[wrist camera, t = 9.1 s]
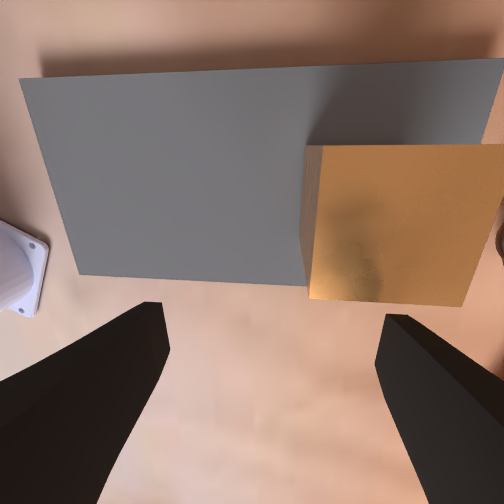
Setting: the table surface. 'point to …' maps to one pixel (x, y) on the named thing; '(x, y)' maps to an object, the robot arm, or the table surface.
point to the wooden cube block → (397, 220)
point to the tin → (500, 242)
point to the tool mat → (228, 156)
